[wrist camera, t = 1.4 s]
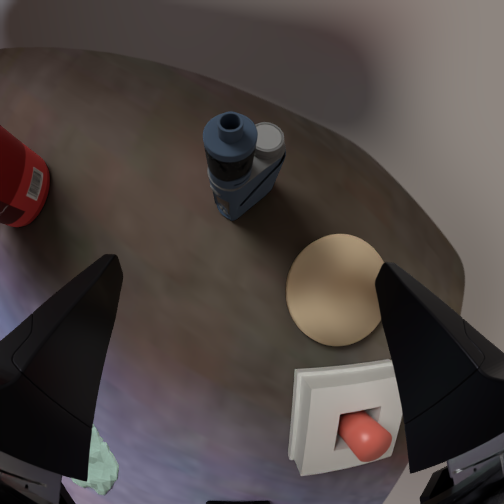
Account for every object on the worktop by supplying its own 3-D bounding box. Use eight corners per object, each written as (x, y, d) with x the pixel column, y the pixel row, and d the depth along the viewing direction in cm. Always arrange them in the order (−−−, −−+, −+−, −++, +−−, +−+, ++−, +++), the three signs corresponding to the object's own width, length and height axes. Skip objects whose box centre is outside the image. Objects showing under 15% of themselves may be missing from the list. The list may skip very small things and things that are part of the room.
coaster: (381, 339, 21) (387, 341, 20) (283, 346, 21) (286, 349, 20) (382, 238, 22) (388, 236, 21) (285, 233, 22) (288, 231, 21)
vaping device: (207, 204, 22) (185, 119, 10) (256, 166, 22) (280, 65, 10) (228, 227, 21) (225, 160, 10) (277, 188, 22) (320, 98, 10)
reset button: (363, 432, 18) (387, 456, 13) (333, 437, 17) (353, 465, 13) (368, 404, 18) (395, 426, 14) (337, 410, 18) (360, 435, 13)
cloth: (126, 507, 17) (121, 518, 15) (-5, 431, 16) (-14, 436, 14) (130, 370, 20) (120, 378, 18) (-16, 297, 19) (-29, 297, 17)
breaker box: (374, 439, 20) (393, 457, 16) (287, 454, 19) (296, 479, 15) (388, 359, 21) (413, 369, 17) (294, 368, 20) (307, 385, 16)
